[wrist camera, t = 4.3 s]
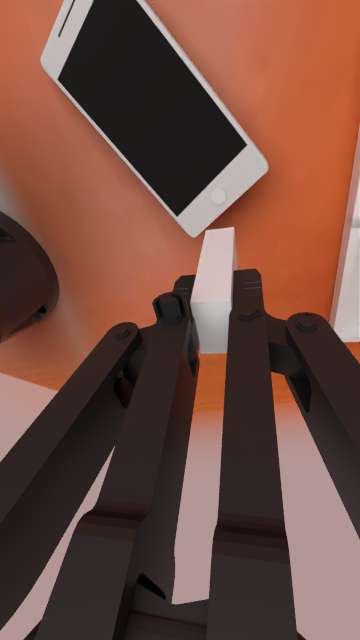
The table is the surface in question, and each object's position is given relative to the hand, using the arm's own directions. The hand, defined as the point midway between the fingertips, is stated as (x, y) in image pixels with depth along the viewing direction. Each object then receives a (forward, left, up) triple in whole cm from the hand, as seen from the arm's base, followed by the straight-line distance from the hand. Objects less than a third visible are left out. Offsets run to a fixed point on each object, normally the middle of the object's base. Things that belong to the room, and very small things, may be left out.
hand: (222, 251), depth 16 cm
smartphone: (0, 0, -9) cm, 9 cm away
